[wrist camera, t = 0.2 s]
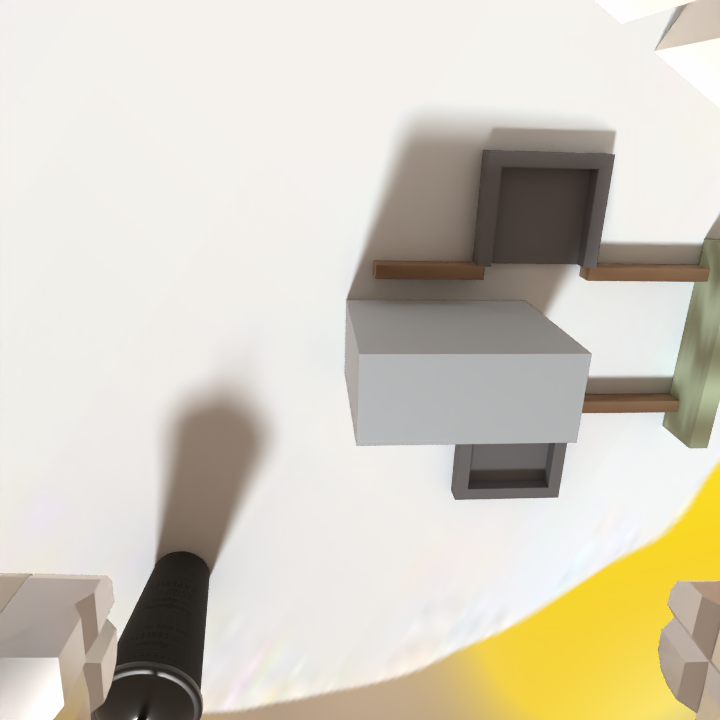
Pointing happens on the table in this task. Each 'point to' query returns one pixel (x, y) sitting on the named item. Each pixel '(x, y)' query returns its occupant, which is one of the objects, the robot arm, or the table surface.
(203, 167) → the table surface
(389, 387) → the slate block
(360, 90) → the table surface
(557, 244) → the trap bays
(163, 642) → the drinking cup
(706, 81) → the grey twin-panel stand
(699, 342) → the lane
